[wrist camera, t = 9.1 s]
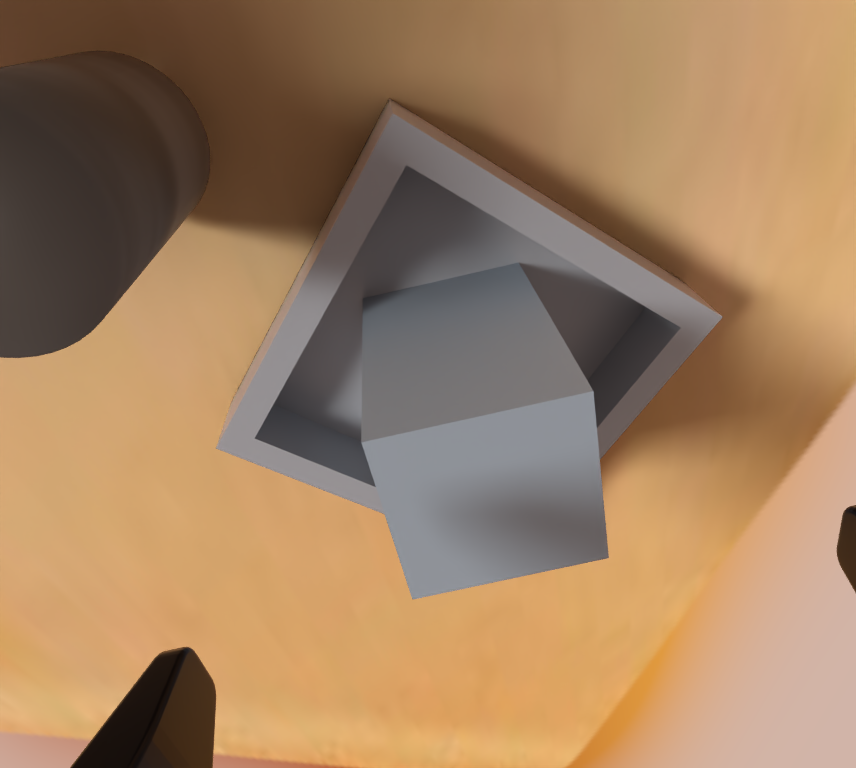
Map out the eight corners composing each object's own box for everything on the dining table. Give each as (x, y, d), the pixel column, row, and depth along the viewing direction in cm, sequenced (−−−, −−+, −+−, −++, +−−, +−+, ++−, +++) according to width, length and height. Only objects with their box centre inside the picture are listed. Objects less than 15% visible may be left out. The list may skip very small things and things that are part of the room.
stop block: (518, 262, 18) (593, 390, 12) (537, 395, 21) (608, 557, 15) (362, 298, 18) (361, 442, 12) (399, 425, 21) (412, 599, 15)
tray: (389, 98, 16) (393, 113, 14) (683, 282, 20) (723, 316, 17) (231, 401, 20) (216, 448, 18) (497, 511, 24) (510, 563, 21)
